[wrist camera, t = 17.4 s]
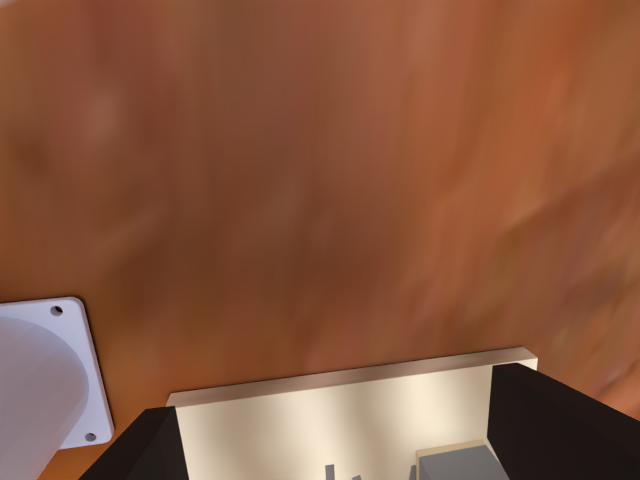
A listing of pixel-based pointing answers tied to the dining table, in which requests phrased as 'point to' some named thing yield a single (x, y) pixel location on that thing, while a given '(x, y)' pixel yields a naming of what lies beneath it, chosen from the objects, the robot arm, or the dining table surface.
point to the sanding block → (459, 463)
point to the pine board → (339, 420)
